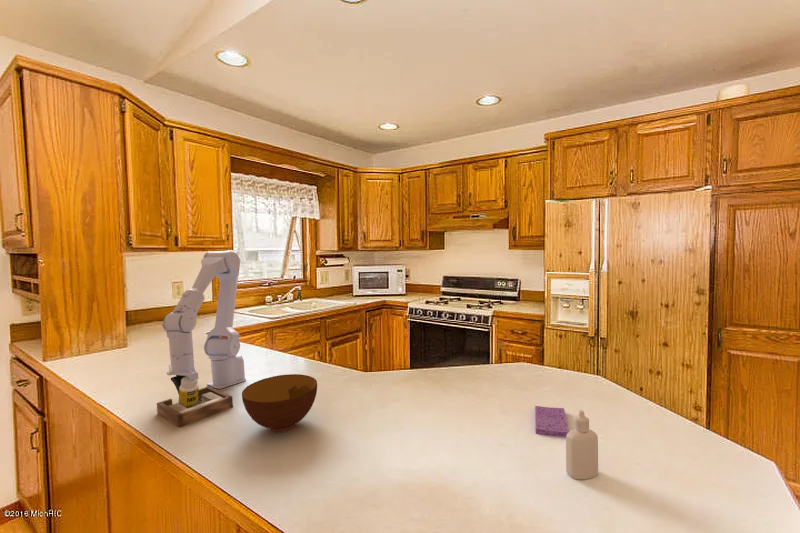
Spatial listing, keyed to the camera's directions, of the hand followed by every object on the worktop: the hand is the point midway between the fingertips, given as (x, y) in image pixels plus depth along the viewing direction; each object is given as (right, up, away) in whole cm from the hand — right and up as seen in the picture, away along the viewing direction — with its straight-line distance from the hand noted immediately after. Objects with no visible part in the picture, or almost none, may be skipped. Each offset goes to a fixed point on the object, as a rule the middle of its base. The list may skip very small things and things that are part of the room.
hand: (185, 399), depth 107 cm
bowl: (+33, -1, -15) cm, 36 cm away
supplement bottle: (+2, -1, -2) cm, 3 cm away
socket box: (+5, -2, -4) cm, 6 cm away
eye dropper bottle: (+96, 0, -38) cm, 103 cm away
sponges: (+98, 0, -18) cm, 100 cm away
